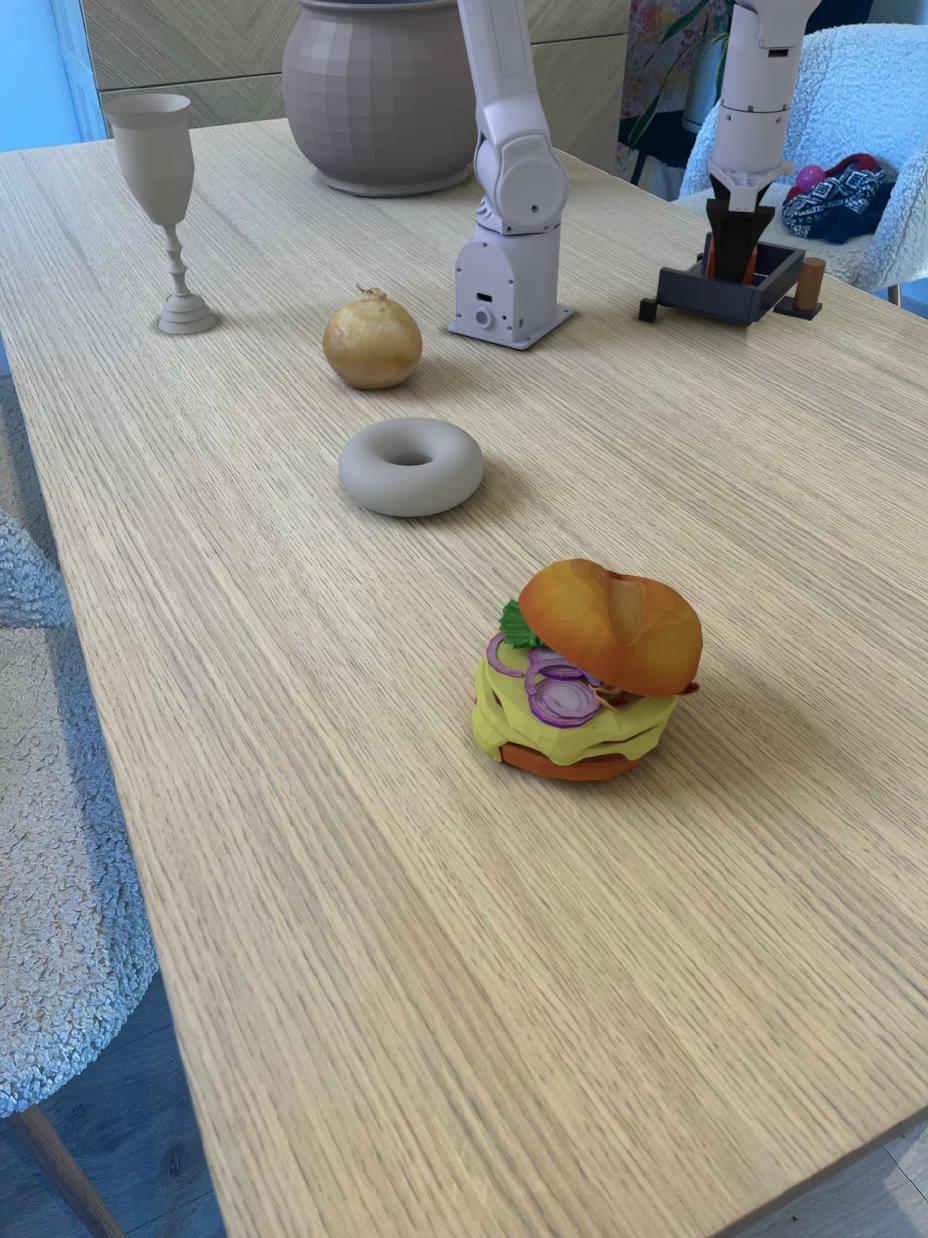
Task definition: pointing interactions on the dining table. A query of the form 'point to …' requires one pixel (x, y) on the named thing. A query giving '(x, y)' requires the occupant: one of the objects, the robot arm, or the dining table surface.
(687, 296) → the dark navy tray
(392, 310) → the onion
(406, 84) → the grey pot
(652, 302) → the black bar
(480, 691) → the cheeseburger
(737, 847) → the dining table surface
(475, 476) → the donut
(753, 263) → the block
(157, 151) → the chalice
